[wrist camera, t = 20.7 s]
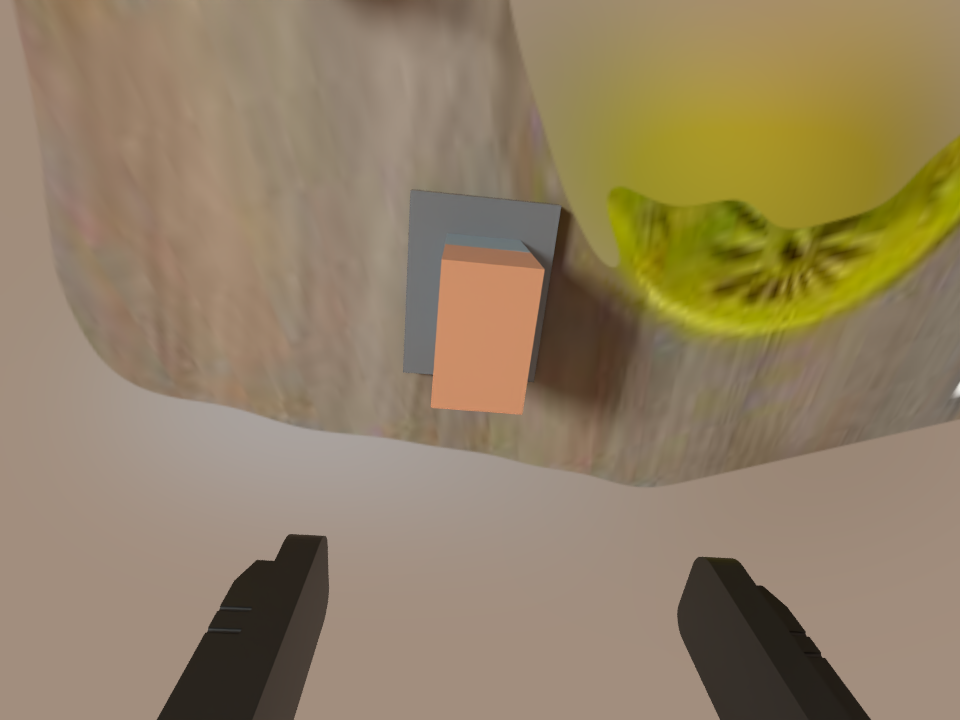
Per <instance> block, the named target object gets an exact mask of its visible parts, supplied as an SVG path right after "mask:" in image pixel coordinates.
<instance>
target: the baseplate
mask: <svg viewBox="0 0 960 720" xmlns="http://www.w3.org/2000/svg"><path fill="white" fill-rule="evenodd" d="M560 211H561V205H558V204H549V203H539V202H529V201H520V200H510V199H500V198H490V197H481V196H471V195H461V194H452V193H442V192H432V191H423V190H413V189H412V190H411V194H410V218H409V242H408V267H407V291H406V316H405V340H404V364H403V372H406V373H419V374H432V375H433V371H434V357H435V343H436V330H437V316H438V302H439V288H440V274H441V260H442V255H443V251H444V247H445V241H446V237H447V233H448V234H459V235H469V236H480V237H491V238H501V239H512V240H521V242H522V243H523V244H524V245H525V246H526V248H527V249H528V250H529V251H530V253H532V255H533V256H534V257H535V258H536V260H537V261H538V262H539V263H540V264H541V266H542V267H543V268H544V269H545V271H544V277H543V284H542V290H541V296H540V303H539V309H538V316H537V322H536V329H535V335H534V341H533V348H532V354H531V361H530V367H529V374H528V380H527V382H534V378H535V371H536V365H537V358H538V352H539V346H540V339H541V333H542V326H543V320H544V314H545V307H546V301H547V294H548V288H549V282H550V275H551V269H552V262H553V256H554V250H555V243H556V237H557V230H558V224H559V218H560Z"/></svg>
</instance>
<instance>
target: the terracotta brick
mask: <svg viewBox="0 0 960 720" xmlns="http://www.w3.org/2000/svg"><path fill="white" fill-rule="evenodd" d="M544 271H545V269H544V268H543V267H542V266H541V264H540V263H539V262H538V261H537V260H536V258H535V257H534V256H533V255H532V253H530V252H520V251H510V250H500V249H490V248H480V247H470V246H460V245H450V244H445V247H444V251H443V255H442V260H441V274H440V288H439V302H438V316H437V330H436V343H435V357H434V371H433V385H432V399H431V408H442V409H455V410H469V411H482V412H495V413H508V414H522V412H523V406H524V399H525V393H526V387H527V380H528V374H529V367H530V361H531V354H532V348H533V341H534V335H535V329H536V322H537V316H538V309H539V303H540V296H541V290H542V284H543V277H544Z"/></svg>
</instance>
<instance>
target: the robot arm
mask: <svg viewBox="0 0 960 720" xmlns="http://www.w3.org/2000/svg"><path fill="white" fill-rule="evenodd" d="M328 593H329V579H328V546H327V538H326V536H315V535H296V534H290V535H288V536H287V537H286V539H285V540H284V542H283V544H282V547H281V549H280V551H279V553H278V555H277V557H276V559H275V561H265V560H256V561H255V562H254V563H253V564H252V565H251V566H250V567H249V568H248V569H247V570H246V571H244V572H243V573H242V574H241V575H240V576H239V577H238V578H237V579H236V580H235V581H234V582H233V584H232V586H231V588H230V590H229V591H228V593H227V595H226V597H225V599H224V600H223V602H222V604H221V606H220V610H219V611H217V613H216V615H215V616H214V618H213V620H212V622H211V624H210V626H209V628H208V632H207V633H205V634H204V636H203V638H202V640H201V642H200V643H199V645H198V647H197V649H196V651H195V652H194V654H193V656H192V658H191V659H190V661H189V663H188V665H187V667H186V669H185V670H184V672H183V674H182V676H181V677H180V679H179V681H178V683H177V685H176V686H175V688H174V690H173V692H172V694H171V695H170V697H169V699H168V701H167V703H166V704H165V706H164V708H163V710H162V712H161V713H160V715H159V717H158V719H157V720H294V716H295V713H296V710H297V707H298V704H299V700H300V697H301V694H302V691H303V687H304V684H305V681H306V678H307V674H308V671H309V668H310V665H311V661H312V658H313V655H314V652H315V649H316V645H317V642H318V639H319V635H320V632H321V629H322V626H323V622H324V619H325V614H326V609H327V603H328V595H329V594H328ZM677 615H678V616H677V617H678V626H679V630H680V634H681V637H682V639H683V641H684V643H685V646H686V648H687V650H688V652H689V654H690V656H691V659H692V661H693V662H694V665H695V667H696V669H697V671H698V673H699V675H700V678H701V680H702V682H703V684H704V686H705V688H706V690H707V693H708V695H709V697H710V699H711V701H712V703H713V705H714V708H715V710H716V712H717V714H718V716H719V718H720V720H871V719H870V718H869V717H868V715H867V714H866V713H865V711H864V710H863V709H862V707H861V706H860V704H859V703H858V702H857V700H856V699H855V698H854V697H853V695H852V694H851V692H850V691H849V690H848V688H847V687H846V686H845V684H844V683H843V682H842V680H841V679H840V677H839V676H838V675H837V674H836V672H835V671H834V669H833V668H832V667H831V665H830V664H829V663H828V661H827V660H826V659H825V658H822V656H821V652H820V651H819V649H818V648H817V647H816V645H815V644H814V642H813V641H812V640H811V639H810V637H807V636H806V634H805V630H804V629H803V628H802V626H801V625H800V624H799V622H798V621H797V620H796V618H795V617H794V616H793V614H792V613H791V612H790V610H789V609H788V607H787V606H785V605H784V604H783V603H782V602H781V601H780V600H778V599H777V598H776V597H775V596H774V595H773V594H771V593H770V592H769V591H768V590H767V589H766V588H765V587H763V586H756V584H755V583H754V581H753V580H752V579H751V577H750V576H749V574H748V573H747V572H746V570H745V569H744V567H743V566H742V565H741V563H740V562H738V561H737V560H736V559H733V558H732V559H731V558H713V557H698V558H697V559H696V560H695V561H694V563H693V566H692V569H691V572H690V574H689V577H688V580H687V583H686V586H685V589H684V591H683V594H682V597H681V600H680V603H679V606H678V613H677Z"/></svg>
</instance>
